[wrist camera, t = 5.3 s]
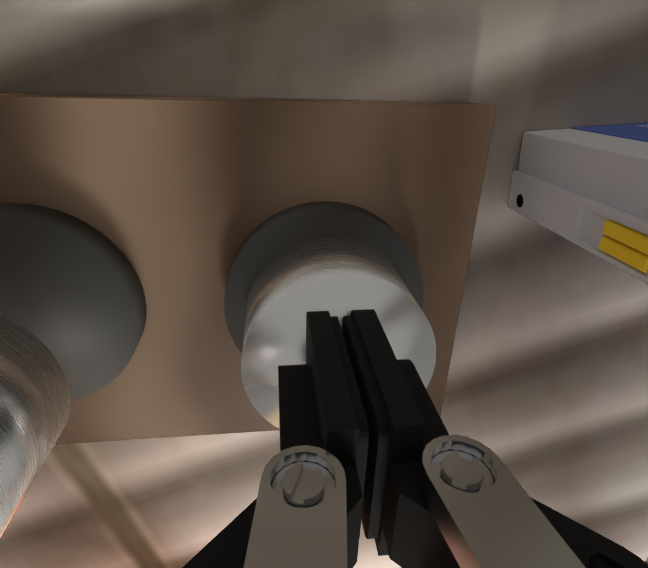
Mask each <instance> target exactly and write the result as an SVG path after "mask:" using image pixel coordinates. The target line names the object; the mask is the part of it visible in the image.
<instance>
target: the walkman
mask: <svg viewBox="0 0 648 568" xmlns="http://www.w3.org/2000/svg"><path fill="white" fill-rule="evenodd" d="M508 207H509V208H511V209H513V210H515V211H516V212H518V213H520V214H522V215H524V216H525V217H527V218H529V219H531V220H533V221H534V222H536V223H538V224H540V225H542V226H543V227H545V228H547V229H549V230H551V231H553V232H554V233H556V234H558V235H560V236H562V237H563V238H565V239H567V240H569V241H571V242H572V243H574V244H576V245H578V246H580V247H581V248H583V249H585V250H587V251H589V252H591V253H592V254H594V255H596V256H598V257H600V258H601V259H603V260H605V261H607V262H609V263H610V264H612V265H614V266H616V267H618V268H620V269H621V270H623V271H625V272H627V273H629V274H630V275H632V276H634V277H636V278H638V279H639V280H641V281H643V282H645V283H647V284H648V123H632V124H617V125H602V126H586V127H571V128H570V129H557V130H542V131H527V132H523V138H522V145H521V152H520V159H519V166H518V170H514V171H513V172H512V180H511V187H510V194H509V201H508Z"/></svg>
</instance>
